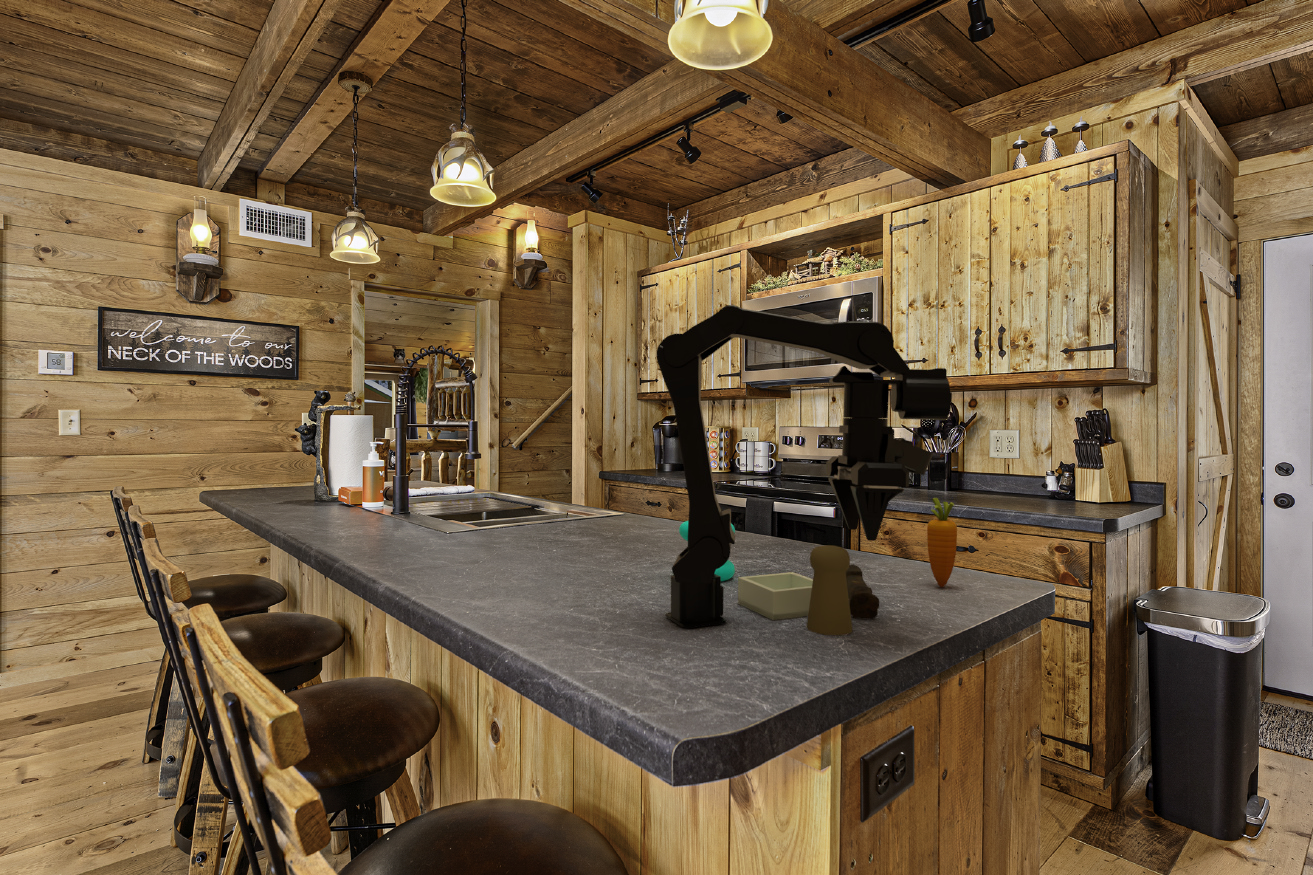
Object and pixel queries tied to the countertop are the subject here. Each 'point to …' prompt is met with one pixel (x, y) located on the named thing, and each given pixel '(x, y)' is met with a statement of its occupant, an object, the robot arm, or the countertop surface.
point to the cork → (829, 592)
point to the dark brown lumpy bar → (860, 595)
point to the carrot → (942, 543)
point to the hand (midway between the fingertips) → (861, 534)
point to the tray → (776, 595)
